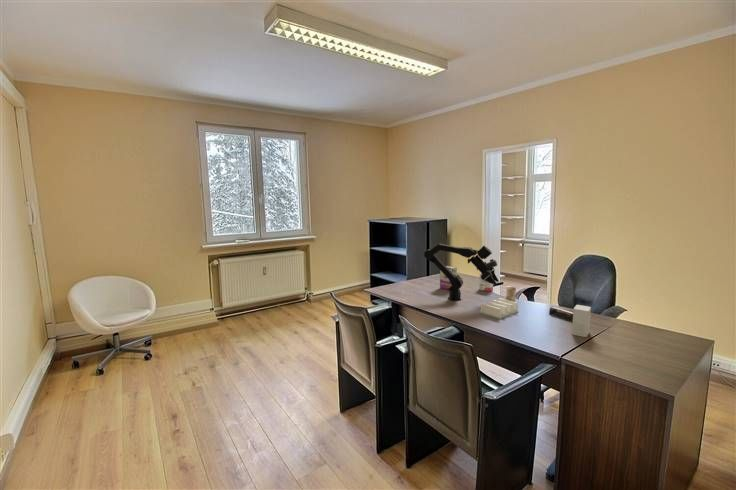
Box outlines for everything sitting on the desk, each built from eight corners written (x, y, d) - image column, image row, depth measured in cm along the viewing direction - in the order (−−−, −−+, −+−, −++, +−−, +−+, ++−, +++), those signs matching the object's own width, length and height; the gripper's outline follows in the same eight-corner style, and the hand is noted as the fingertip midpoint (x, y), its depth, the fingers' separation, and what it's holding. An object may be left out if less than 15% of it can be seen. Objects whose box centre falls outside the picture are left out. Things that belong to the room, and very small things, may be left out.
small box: (574, 329, 175) (576, 304, 173) (589, 332, 171) (591, 306, 169) (571, 334, 169) (573, 308, 167) (586, 337, 165) (588, 311, 163)
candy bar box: (456, 289, 249) (457, 267, 247) (452, 291, 246) (453, 268, 243) (443, 287, 257) (443, 265, 255) (439, 288, 254) (439, 266, 251)
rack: (479, 312, 201) (480, 303, 200) (498, 306, 211) (498, 297, 211) (500, 319, 190) (500, 309, 190) (518, 312, 201) (518, 302, 200)
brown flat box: (575, 326, 180) (575, 318, 180) (532, 312, 202) (532, 305, 201) (591, 320, 187) (592, 313, 186) (548, 308, 209) (548, 301, 208)
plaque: (505, 305, 212) (506, 286, 210) (506, 304, 215) (507, 285, 213) (514, 307, 210) (515, 287, 208) (515, 305, 213) (515, 286, 211)
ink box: (493, 290, 246) (493, 274, 244) (489, 291, 243) (489, 275, 241) (482, 288, 252) (483, 272, 251) (478, 289, 249) (479, 273, 248)
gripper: (487, 258, 206) (506, 278, 202) (491, 253, 222) (509, 271, 219) (473, 270, 210) (491, 289, 207) (478, 264, 227) (495, 282, 224)
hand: (497, 283), depth 214 cm, fingers open, 9 cm apart
